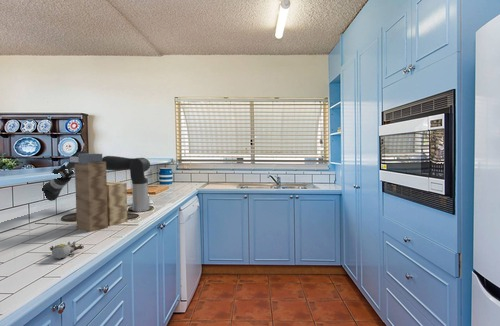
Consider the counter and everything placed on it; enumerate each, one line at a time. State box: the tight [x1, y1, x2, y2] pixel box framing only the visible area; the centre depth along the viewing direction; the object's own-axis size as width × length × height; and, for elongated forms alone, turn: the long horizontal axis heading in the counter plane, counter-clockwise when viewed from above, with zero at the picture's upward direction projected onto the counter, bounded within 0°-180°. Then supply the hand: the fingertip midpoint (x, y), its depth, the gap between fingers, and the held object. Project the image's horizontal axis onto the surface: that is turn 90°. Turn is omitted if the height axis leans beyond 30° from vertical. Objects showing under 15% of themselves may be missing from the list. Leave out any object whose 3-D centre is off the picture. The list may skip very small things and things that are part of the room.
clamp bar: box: [69, 153, 103, 165], centre depth 153 cm, size 7×22×5 cm, turn 57°
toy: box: [49, 241, 85, 260], centre depth 116 cm, size 12×5×15 cm
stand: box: [74, 162, 109, 233], centre depth 150 cm, size 9×12×33 cm
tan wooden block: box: [107, 181, 128, 227], centre depth 162 cm, size 10×12×21 cm
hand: (73, 165), depth 158 cm, fingers open, 8 cm apart
